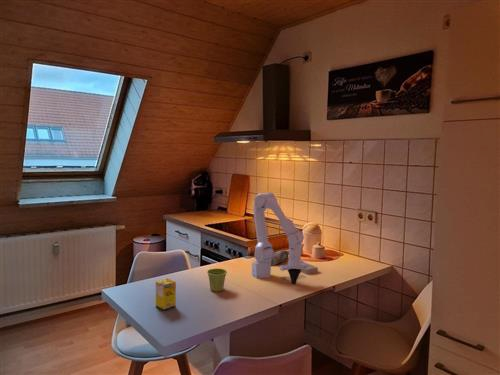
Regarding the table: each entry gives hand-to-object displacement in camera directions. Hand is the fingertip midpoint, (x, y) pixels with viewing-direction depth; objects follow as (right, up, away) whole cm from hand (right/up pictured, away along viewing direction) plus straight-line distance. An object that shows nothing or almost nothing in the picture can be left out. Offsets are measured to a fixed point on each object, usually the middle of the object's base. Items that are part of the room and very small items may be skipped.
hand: (293, 283), depth 185 cm
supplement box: (-56, -3, -28) cm, 63 cm away
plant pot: (-37, -1, -7) cm, 38 cm away
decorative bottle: (-3, +2, +39) cm, 39 cm away
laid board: (+1, 0, +9) cm, 9 cm away
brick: (+8, 0, +23) cm, 24 cm away
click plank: (+3, -1, +4) cm, 5 cm away
